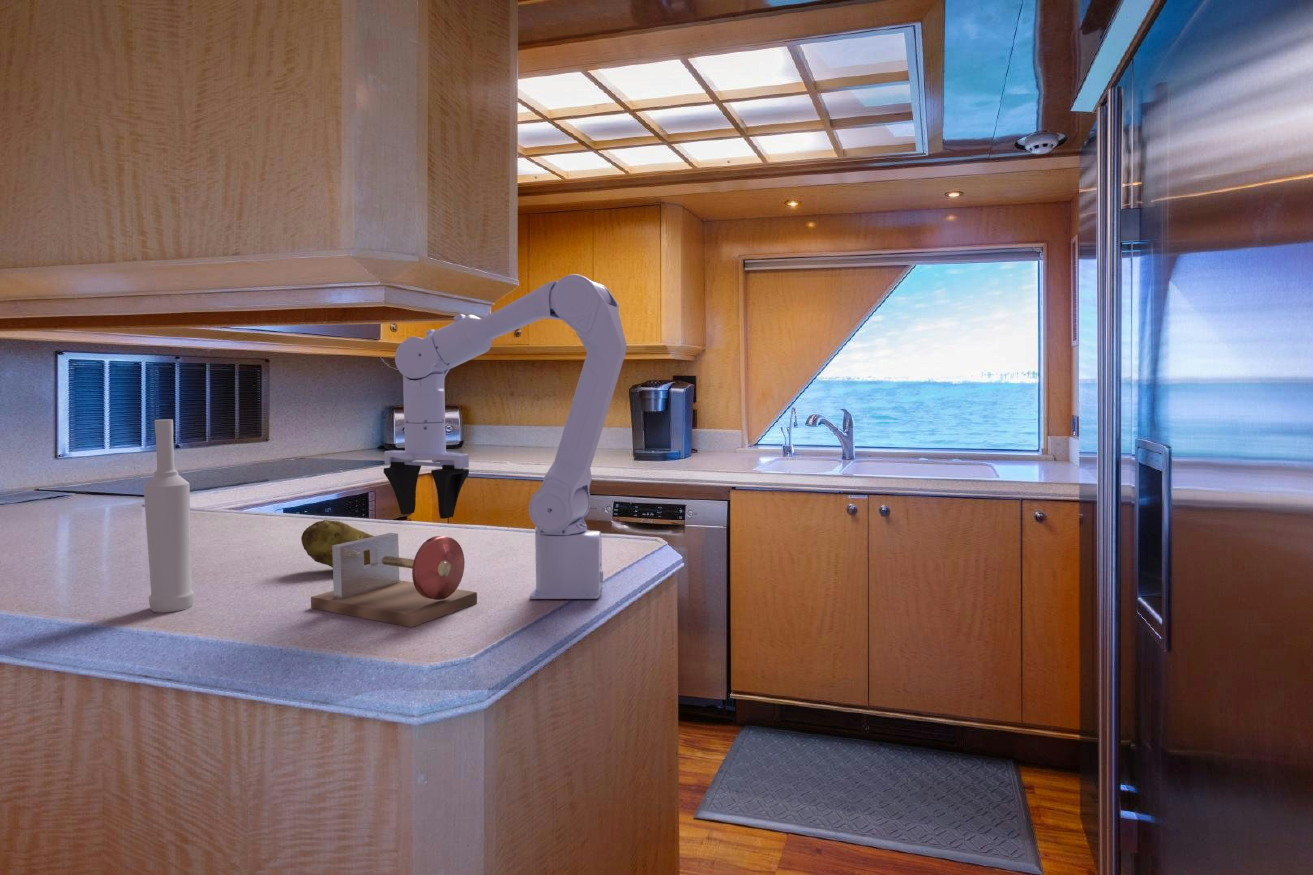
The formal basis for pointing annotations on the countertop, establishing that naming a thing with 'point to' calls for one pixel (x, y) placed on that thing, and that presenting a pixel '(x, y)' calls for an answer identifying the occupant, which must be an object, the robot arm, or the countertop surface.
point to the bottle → (168, 529)
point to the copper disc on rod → (434, 567)
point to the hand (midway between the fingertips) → (427, 515)
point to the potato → (330, 540)
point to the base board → (395, 604)
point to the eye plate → (359, 577)
